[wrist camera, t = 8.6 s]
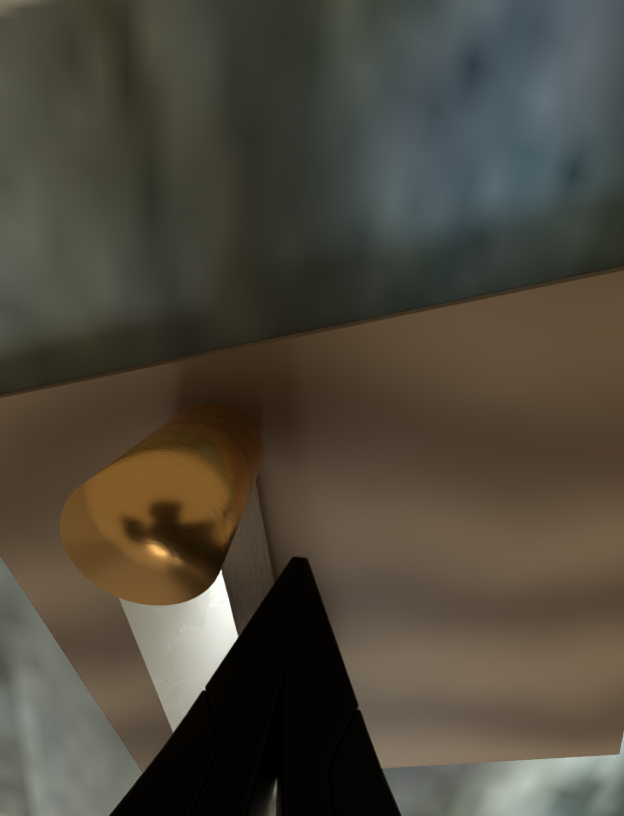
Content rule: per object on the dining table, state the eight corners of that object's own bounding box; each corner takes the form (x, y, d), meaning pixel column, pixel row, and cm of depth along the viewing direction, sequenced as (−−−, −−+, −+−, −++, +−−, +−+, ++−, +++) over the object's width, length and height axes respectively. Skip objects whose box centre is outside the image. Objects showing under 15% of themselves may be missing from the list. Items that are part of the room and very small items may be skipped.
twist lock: (338, 737, 13) (345, 940, 9) (224, 737, 13) (179, 934, 9) (297, 393, 8) (268, 484, 4) (120, 408, 8) (-77, 506, 4)
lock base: (590, 710, 15) (623, 761, 13) (163, 741, 17) (146, 787, 15) (649, 260, 8) (727, 250, 7) (-36, 401, 11) (-100, 419, 9)
